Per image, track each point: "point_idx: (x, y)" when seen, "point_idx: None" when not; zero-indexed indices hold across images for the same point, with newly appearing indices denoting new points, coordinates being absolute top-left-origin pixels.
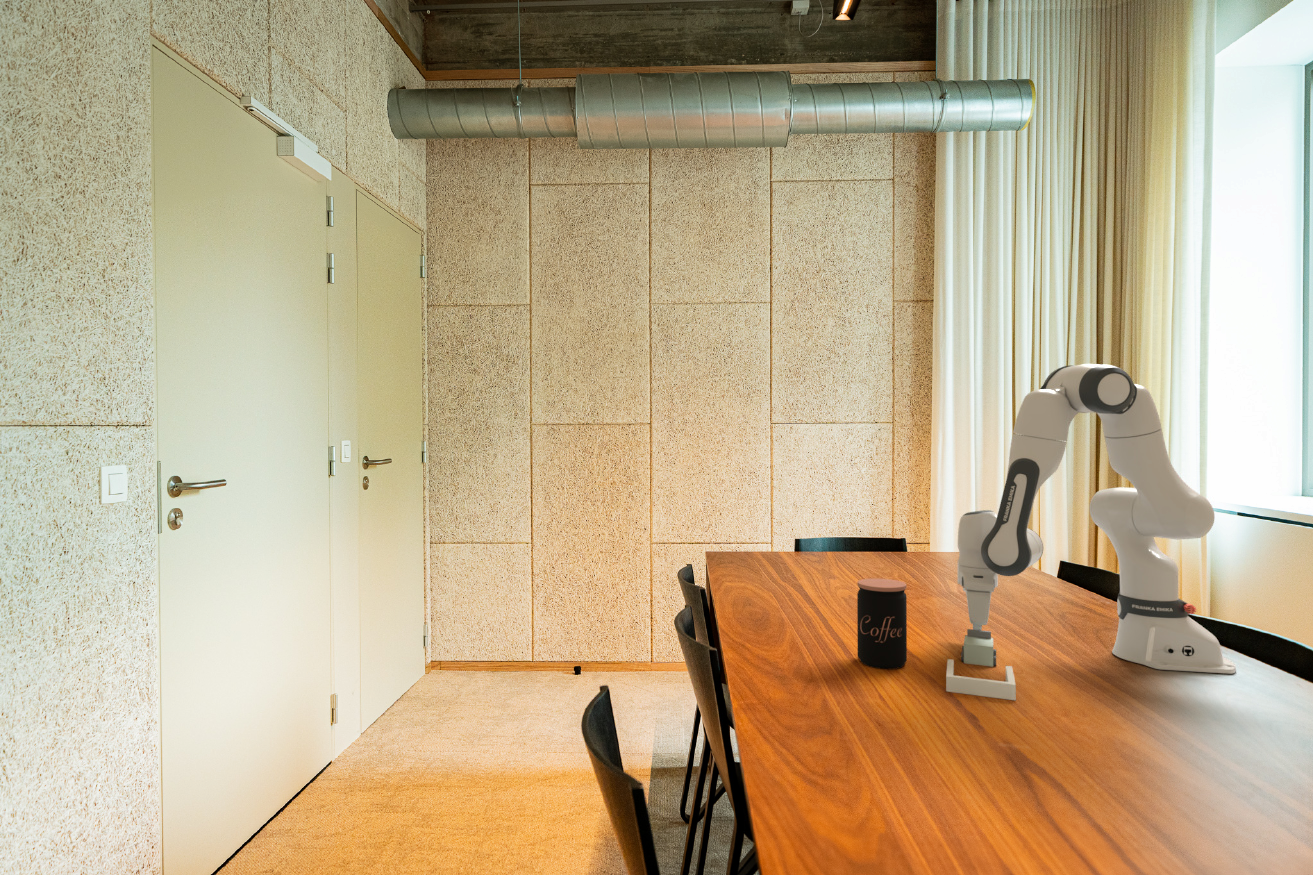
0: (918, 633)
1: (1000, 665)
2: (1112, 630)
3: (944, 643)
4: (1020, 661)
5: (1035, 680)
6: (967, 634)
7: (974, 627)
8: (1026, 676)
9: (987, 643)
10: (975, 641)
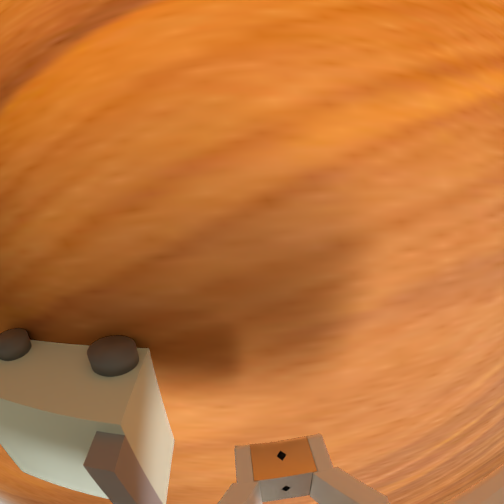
0: (457, 73)
1: None
2: None
3: (323, 216)
4: (173, 486)
5: None
6: (92, 441)
7: (227, 496)
8: None
9: (49, 472)
10: (33, 442)
